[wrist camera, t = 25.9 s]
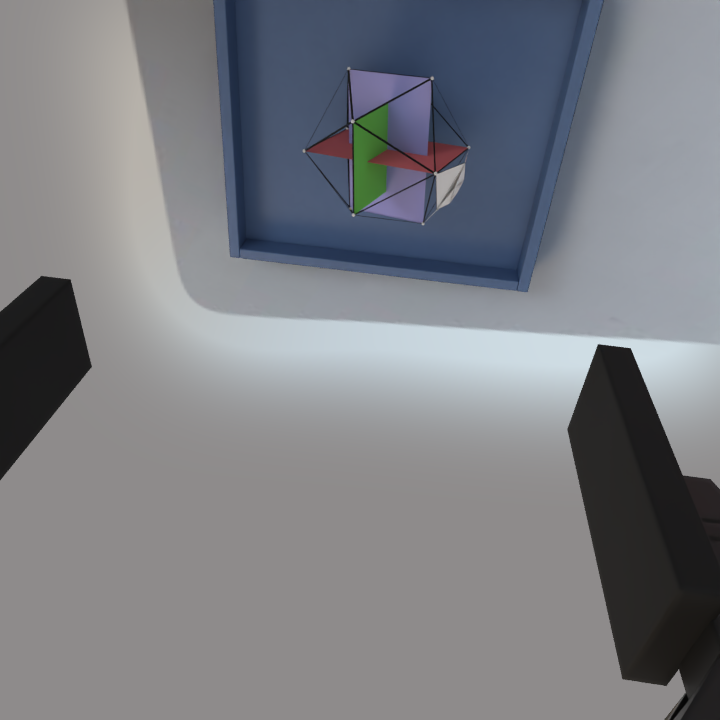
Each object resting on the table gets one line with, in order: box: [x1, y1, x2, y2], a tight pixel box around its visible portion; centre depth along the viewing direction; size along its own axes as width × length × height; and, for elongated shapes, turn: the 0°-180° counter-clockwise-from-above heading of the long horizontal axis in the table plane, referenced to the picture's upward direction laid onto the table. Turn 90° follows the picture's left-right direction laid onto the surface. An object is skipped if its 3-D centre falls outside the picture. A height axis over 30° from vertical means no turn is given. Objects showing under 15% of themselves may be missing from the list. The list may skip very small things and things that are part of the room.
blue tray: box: [213, 0, 604, 292], centre depth 31 cm, size 17×15×2 cm
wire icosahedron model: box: [303, 67, 470, 225], centre depth 29 cm, size 7×7×8 cm
